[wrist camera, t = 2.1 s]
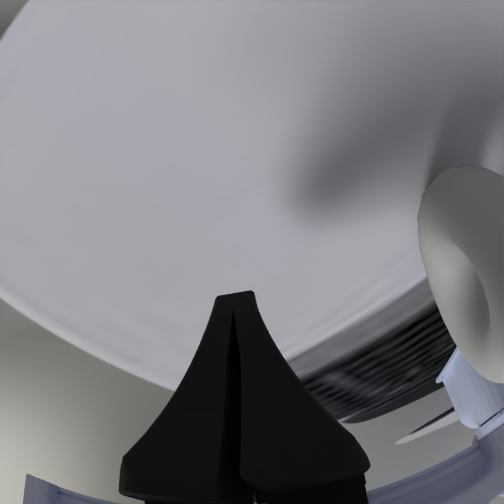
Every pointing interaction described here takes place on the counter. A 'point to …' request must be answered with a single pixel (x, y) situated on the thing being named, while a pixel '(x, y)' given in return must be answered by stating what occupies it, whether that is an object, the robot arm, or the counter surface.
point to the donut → (467, 261)
